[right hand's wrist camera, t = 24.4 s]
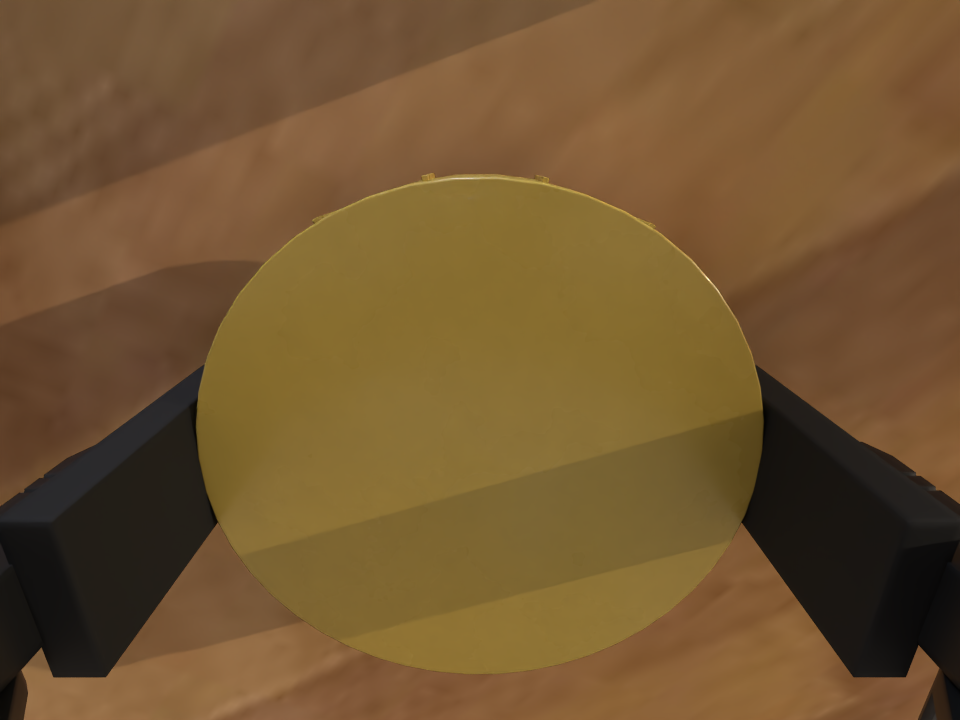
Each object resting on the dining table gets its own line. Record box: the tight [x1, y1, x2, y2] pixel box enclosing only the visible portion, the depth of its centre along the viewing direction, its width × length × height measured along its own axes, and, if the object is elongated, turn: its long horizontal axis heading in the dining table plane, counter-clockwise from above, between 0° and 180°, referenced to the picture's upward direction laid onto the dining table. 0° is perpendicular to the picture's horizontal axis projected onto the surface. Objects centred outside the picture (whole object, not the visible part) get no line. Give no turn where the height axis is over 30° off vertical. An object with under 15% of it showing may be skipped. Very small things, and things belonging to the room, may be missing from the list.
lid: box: [196, 173, 764, 674], centre depth 11 cm, size 11×11×2 cm
